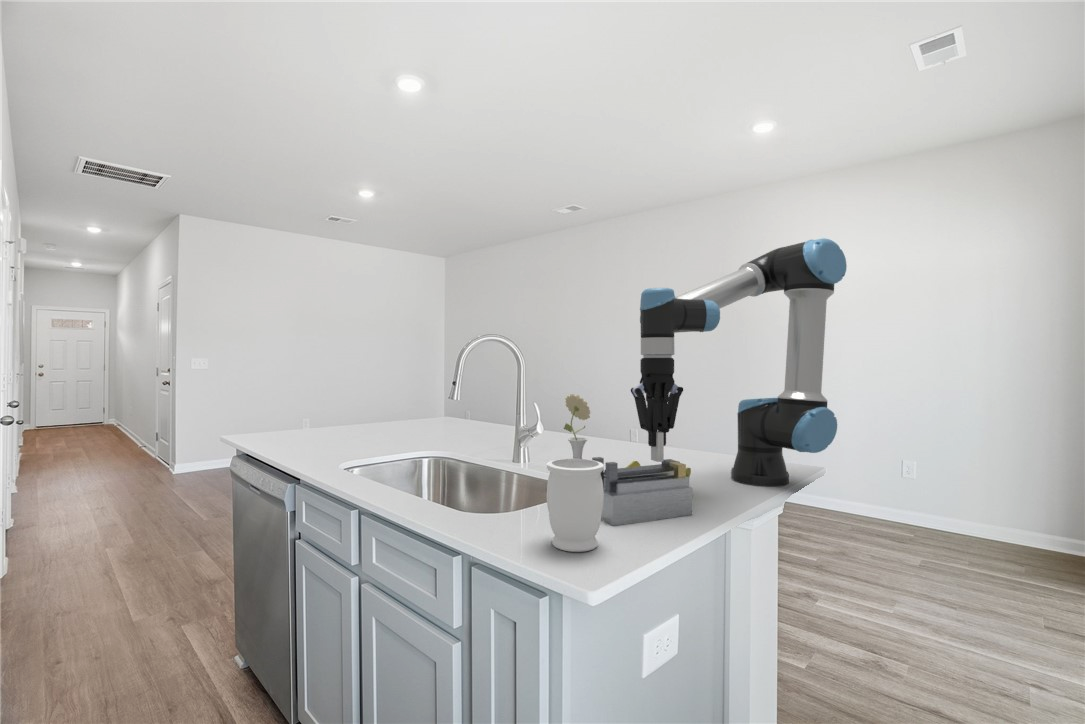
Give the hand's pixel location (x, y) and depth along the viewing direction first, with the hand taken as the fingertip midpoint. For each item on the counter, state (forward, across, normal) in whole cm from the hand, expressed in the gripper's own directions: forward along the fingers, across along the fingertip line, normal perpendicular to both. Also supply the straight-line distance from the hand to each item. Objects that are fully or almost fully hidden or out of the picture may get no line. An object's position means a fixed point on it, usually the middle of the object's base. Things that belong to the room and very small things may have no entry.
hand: (657, 460), depth 122 cm
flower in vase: (+11, +11, -20) cm, 25 cm away
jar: (+11, +28, +14) cm, 33 cm away
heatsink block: (+11, +6, 0) cm, 12 cm away
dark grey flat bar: (+2, +4, 0) cm, 5 cm away
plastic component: (+12, -10, -15) cm, 21 cm away
